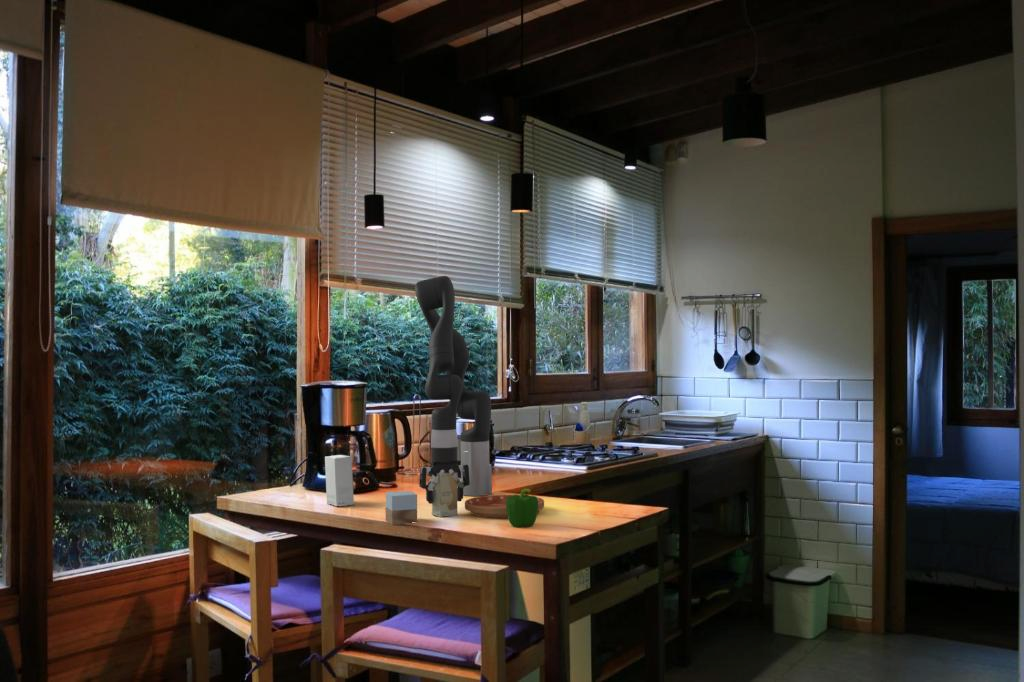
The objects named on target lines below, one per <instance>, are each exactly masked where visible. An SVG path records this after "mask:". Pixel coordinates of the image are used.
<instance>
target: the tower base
mask: <svg viewBox="0 0 1024 682" xmlns="http://www.w3.org/2000/svg"><path fill="white" fill-rule="evenodd" d="M384 509H385V521H386V522H387V523H388V524H390V525H391V526H396V525H406V524H405V523H410V524H413V523H412V522H417V523H418V508H417V509H412V510H399V511H391V510H390V509H388V508H387V507H386V506H385V508H384Z"/></svg>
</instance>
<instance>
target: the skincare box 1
mask: <svg viewBox="0 0 1024 682" xmlns="http://www.w3.org/2000/svg"><path fill="white" fill-rule="evenodd" d="M324 466H325V467H324V468H325V490H326V491H325V493H326V504H327V503H329V504H328V505H330V504H332V505H331V506H333V505H335V506H334V507H337V506H339V507H348V505H350V506H354V505H355V501H354V497H355V496H354V480H353V479H354V478H353V460H352V456H351V455H345V454H335V455H328V456H324Z"/></svg>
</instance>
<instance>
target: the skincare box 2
mask: <svg viewBox="0 0 1024 682" xmlns="http://www.w3.org/2000/svg"><path fill="white" fill-rule="evenodd" d="M437 474H438V473H437ZM455 474H456V475H457V477H458V472H457V473H455ZM434 478H435V476H434V475H433V474H432V479H434ZM457 488H458V484H457V483H456V481H455V480H454V478H453V477H452V476H451V474H450V473H441V474H438V482H437V483H436V484H435V485H434V487H433V488H432V491H433V504H431V515H432V516H434V515H435V517H439V518H442V517H443V516H444V517H450V516H457V515H458V501H457ZM444 517H443V518H444Z"/></svg>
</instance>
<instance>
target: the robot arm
mask: <svg viewBox="0 0 1024 682" xmlns="http://www.w3.org/2000/svg"><path fill="white" fill-rule="evenodd" d="M414 290H415V291H414V292H415V297H416V300H417V303H418V305H419V307H420V310H421V312H422V314H423V316H424V318H425V321H426V324H427V325H428V328H429V330H430V333H431V335H430V338H429V342H428V355H429V356H428V357H429V369H428V374H427V378H426V380H425V381H426V382H425V384H424V385H425V387H424V392H425V395H426V396H427V398H428V399H429V400H432V401H437V400H440V401H441V400H442V401H443V400H445V401H446V400H449V401H448V403H447V404H446V405H445V406H442V407H438V408H435V409H433V410H432V411H431V434H430V463H431V465H430V466H420V467H419V484H418V485H419V486H418V487H420V488H421V489H423V490H425V495H426V496H425V499H426V502H428V504H429V505H430V504H431V505H432V504H433V491H432V488H433V487H434V485H435V484H436V483H437V482H438V474H441V473H450V474H451V476H452V477H453V478H454V480H455V481H456V483H457V484H458V486H457V502H462V500H463V499H464V496H469V497H481V496H489V495H492V494H493V486H492V485H493V477H492V476H493V473H492V472H493V467H492V464H491V463H490V433H491V422H492V399H491V396H490V394H489V393H488V392H487V391H485V390H468V389H467V387H466V384H465V379H464V378H465V375H466V373H467V370H468V367H469V364H470V358H471V356H470V352H469V349H468V346H467V343H466V340H465V338H464V336H463V335H462V334H461V333H460V332H459V331H458V330H456V329H455V328H454V318H455V306H456V304H455V303H456V302H455V301H456V297H455V296H456V295H455V288H454V285H453V282H452V279H451V278H450V277H449V276H448V275H441V276H436V277H431V278H427V279H423V280H420V281H417V282H416V283H415V286H414ZM441 308H442V309H441ZM436 309H441V313H440V314H439V312H438V311H437V310H436ZM440 373H445V374H440ZM457 416H458V417H459V418H460V419H462V420H474V423H473V425H472V427H471V428H468V429H466V430H462V431H461V432H460V435H461V465H458V440H457V435H458V433H457V432H458V431H457V429H458V428H457ZM459 469H460V471H461V478H458V477H457V475H456V474H455V473H457V472H458V470H459ZM429 471H430V472H431V473H432V474H433V475H434V476H435V478H434V479H432V477H430V478H429V481H427V476H428V475H427V474H428V473H429ZM437 473H438V474H437Z"/></svg>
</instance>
